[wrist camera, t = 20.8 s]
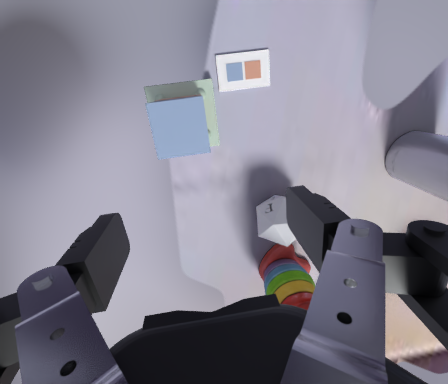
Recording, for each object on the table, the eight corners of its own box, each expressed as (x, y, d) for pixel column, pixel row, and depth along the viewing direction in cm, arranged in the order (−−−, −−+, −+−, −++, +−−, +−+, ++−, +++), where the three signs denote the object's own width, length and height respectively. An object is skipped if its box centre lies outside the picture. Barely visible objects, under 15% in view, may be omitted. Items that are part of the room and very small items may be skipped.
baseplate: (211, 78, 37) (211, 78, 36) (219, 144, 41) (219, 145, 40) (145, 86, 36) (143, 86, 35) (159, 152, 40) (158, 153, 39)
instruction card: (268, 49, 36) (269, 49, 36) (269, 85, 38) (270, 85, 38) (215, 55, 36) (215, 55, 35) (219, 92, 38) (219, 92, 37)
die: (298, 185, 46) (287, 189, 37) (317, 230, 45) (310, 244, 36) (259, 201, 50) (240, 207, 41) (275, 242, 49) (259, 258, 40)
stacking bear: (312, 266, 53) (363, 343, 37) (276, 291, 55) (309, 376, 39) (285, 236, 49) (329, 308, 33) (247, 265, 51) (271, 346, 35)
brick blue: (201, 95, 31) (203, 96, 25) (208, 142, 33) (210, 152, 28) (154, 101, 30) (145, 103, 25) (164, 148, 33) (158, 159, 27)
